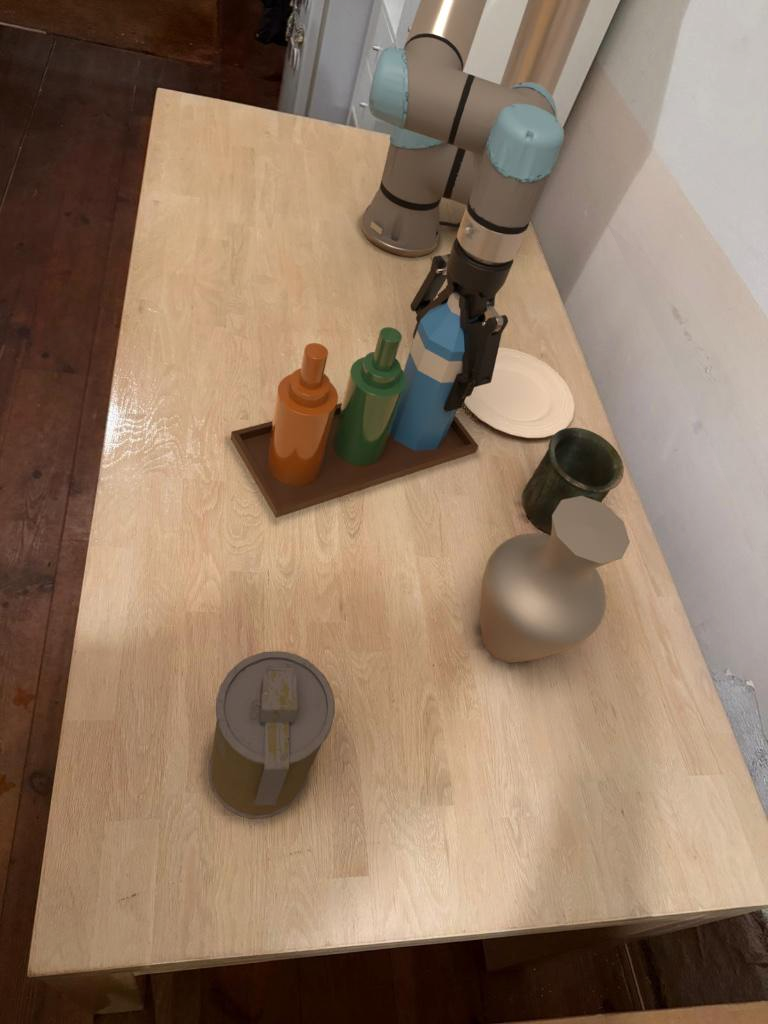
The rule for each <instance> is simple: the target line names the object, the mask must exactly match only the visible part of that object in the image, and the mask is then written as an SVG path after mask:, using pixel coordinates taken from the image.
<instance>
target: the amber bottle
mask: <svg viewBox="0 0 768 1024" xmlns="http://www.w3.org/2000/svg"><path fill="white" fill-rule="evenodd" d="M303 351H304V352H303V357H302V363H301V367H300V368H297V369H296V370H294V371H293V372H292V373H290V374H287V375H286V376H284V377H283V378H282V379H281V380H280V382H279V383H278V385H277V391H276V398H275V404H274V410H273V418H272V421H273V423H272V430H271V436H270V443H269V449H268V456H267V467H268V470H269V472H270V473H271V475H272V476H273V477H274V478H275V479H277V480H278V481H280V482H282V483H284V484H287V485H292V486H302V485H307V484H309V483H311V482H313V481H314V480H315V479H316V478H317V477H318V476H319V474H320V471H321V467H322V463H323V459H324V455H325V451H326V447H327V443H328V439H329V435H330V431H331V426H332V422H333V418H334V414H335V410H336V406H337V404H338V401H339V394H338V391H337V389H336V387H335V385H334V384H333V383H332V382H331V380H330V379H329V376H328V375H326V374H325V371H326V366H327V361H328V356H329V350H328V349H327V347H326V346H324V345H323V344H322V343H318V342H312V343H307V345H305V347H304V350H303Z"/></svg>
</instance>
